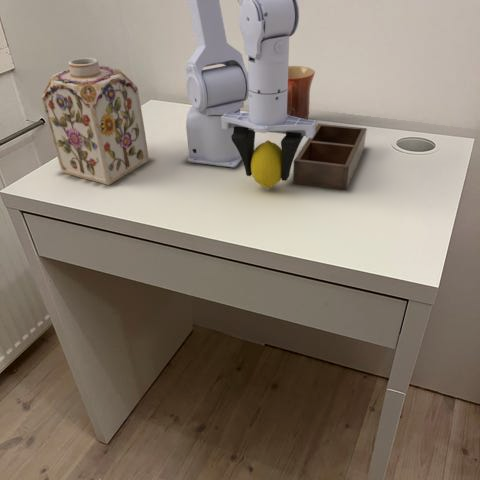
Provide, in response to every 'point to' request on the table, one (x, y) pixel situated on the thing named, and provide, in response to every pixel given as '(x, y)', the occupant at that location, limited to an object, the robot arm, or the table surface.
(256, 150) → the lemon
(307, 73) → the mug
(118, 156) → the decorative jar
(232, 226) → the table surface
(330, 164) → the caddy
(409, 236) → the table surface
